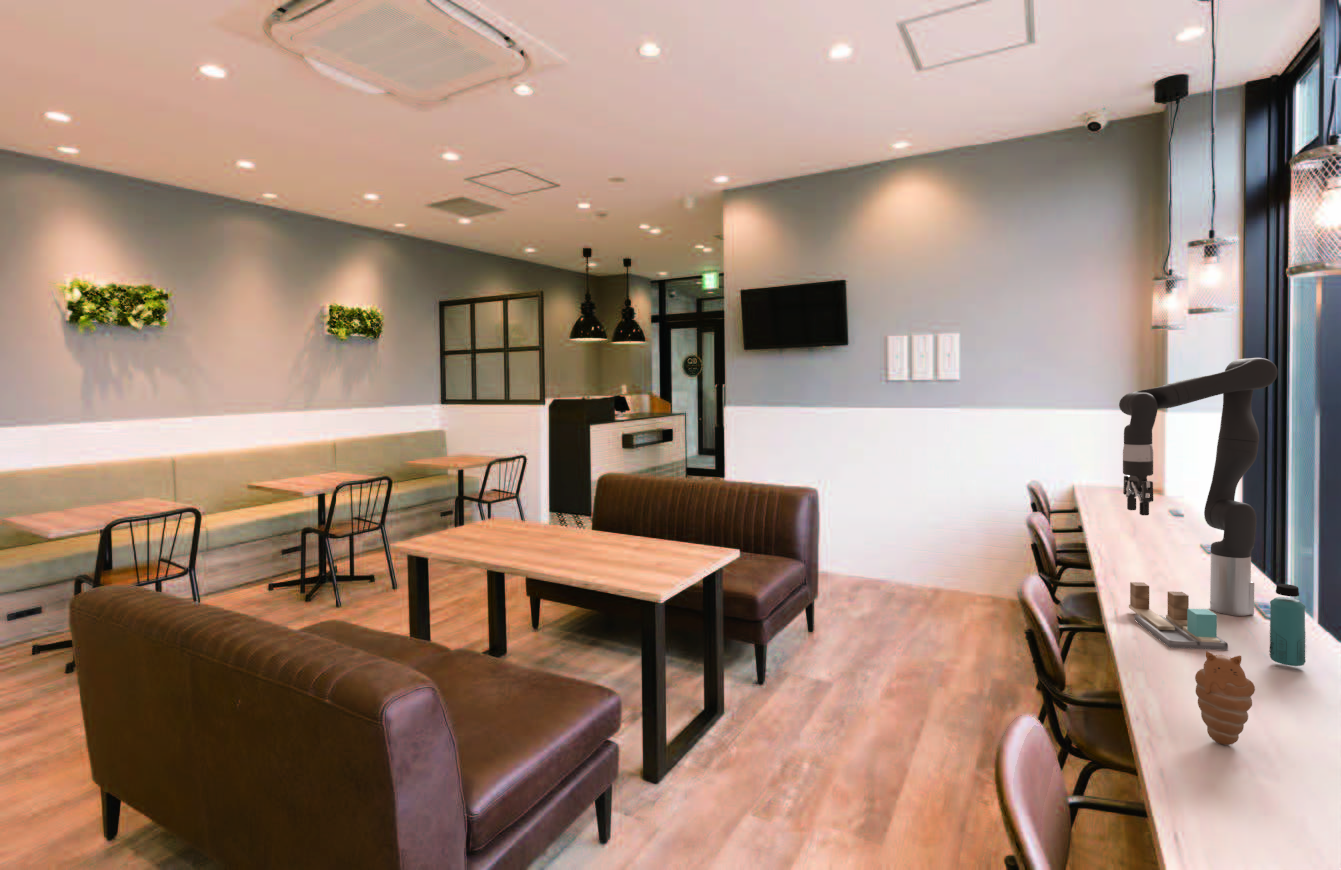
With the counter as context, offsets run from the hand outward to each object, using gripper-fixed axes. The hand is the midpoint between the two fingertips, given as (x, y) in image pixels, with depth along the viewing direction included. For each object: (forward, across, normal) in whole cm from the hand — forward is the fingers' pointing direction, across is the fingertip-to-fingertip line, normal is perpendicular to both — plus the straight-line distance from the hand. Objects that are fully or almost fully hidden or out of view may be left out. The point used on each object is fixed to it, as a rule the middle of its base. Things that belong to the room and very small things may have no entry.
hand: (1137, 512), depth 201 cm
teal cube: (+28, -26, -5) cm, 38 cm away
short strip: (+29, -15, -5) cm, 33 cm away
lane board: (+30, -20, -2) cm, 36 cm away
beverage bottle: (+30, -40, -16) cm, 53 cm away
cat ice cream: (+30, -81, +17) cm, 88 cm away
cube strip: (+29, -11, +1) cm, 31 cm away
